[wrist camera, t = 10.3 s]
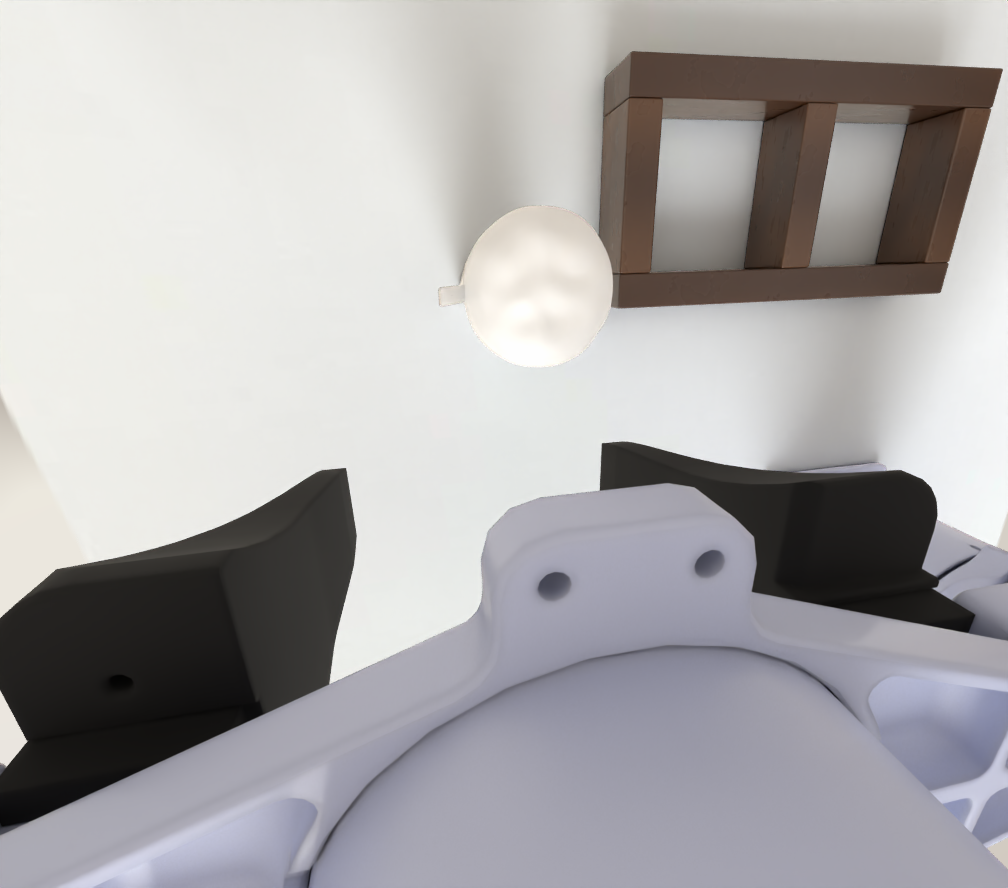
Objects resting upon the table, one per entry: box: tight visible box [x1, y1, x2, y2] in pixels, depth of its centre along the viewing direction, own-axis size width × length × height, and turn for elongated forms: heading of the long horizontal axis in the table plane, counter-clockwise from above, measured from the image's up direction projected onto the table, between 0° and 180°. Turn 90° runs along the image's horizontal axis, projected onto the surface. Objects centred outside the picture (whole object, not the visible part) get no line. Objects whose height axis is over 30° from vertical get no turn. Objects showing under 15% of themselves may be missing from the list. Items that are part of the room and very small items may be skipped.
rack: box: [599, 51, 1003, 308], centre depth 21 cm, size 9×17×3 cm, turn 92°
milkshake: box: [438, 206, 613, 367], centre depth 17 cm, size 4×5×10 cm
